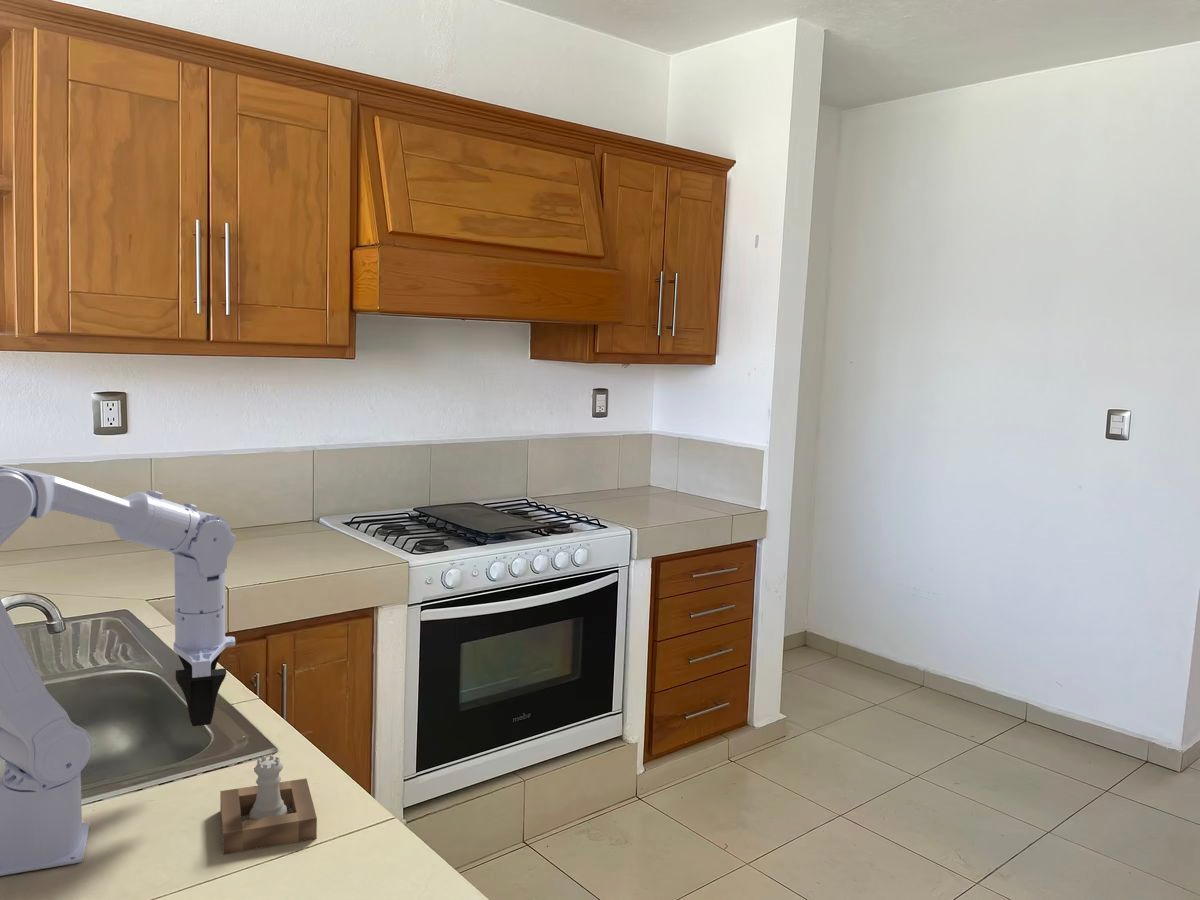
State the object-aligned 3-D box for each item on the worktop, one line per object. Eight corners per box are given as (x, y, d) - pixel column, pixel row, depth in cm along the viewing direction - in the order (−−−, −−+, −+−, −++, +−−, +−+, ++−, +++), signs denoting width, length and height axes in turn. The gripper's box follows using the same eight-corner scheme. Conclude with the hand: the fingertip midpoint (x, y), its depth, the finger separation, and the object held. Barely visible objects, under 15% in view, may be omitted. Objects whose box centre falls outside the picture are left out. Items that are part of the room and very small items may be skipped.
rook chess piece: (276, 836, 107) (276, 771, 106) (240, 831, 108) (240, 766, 107) (295, 817, 111) (295, 754, 110) (260, 812, 112) (260, 749, 111)
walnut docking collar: (223, 854, 103) (223, 833, 103) (220, 810, 112) (220, 791, 112) (316, 838, 107) (316, 818, 107) (306, 797, 116) (306, 778, 116)
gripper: (237, 622, 110) (238, 731, 111) (232, 589, 123) (232, 686, 124) (172, 627, 107) (173, 739, 108) (173, 592, 120) (174, 693, 122)
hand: (200, 711), depth 116 cm, fingers open, 7 cm apart
